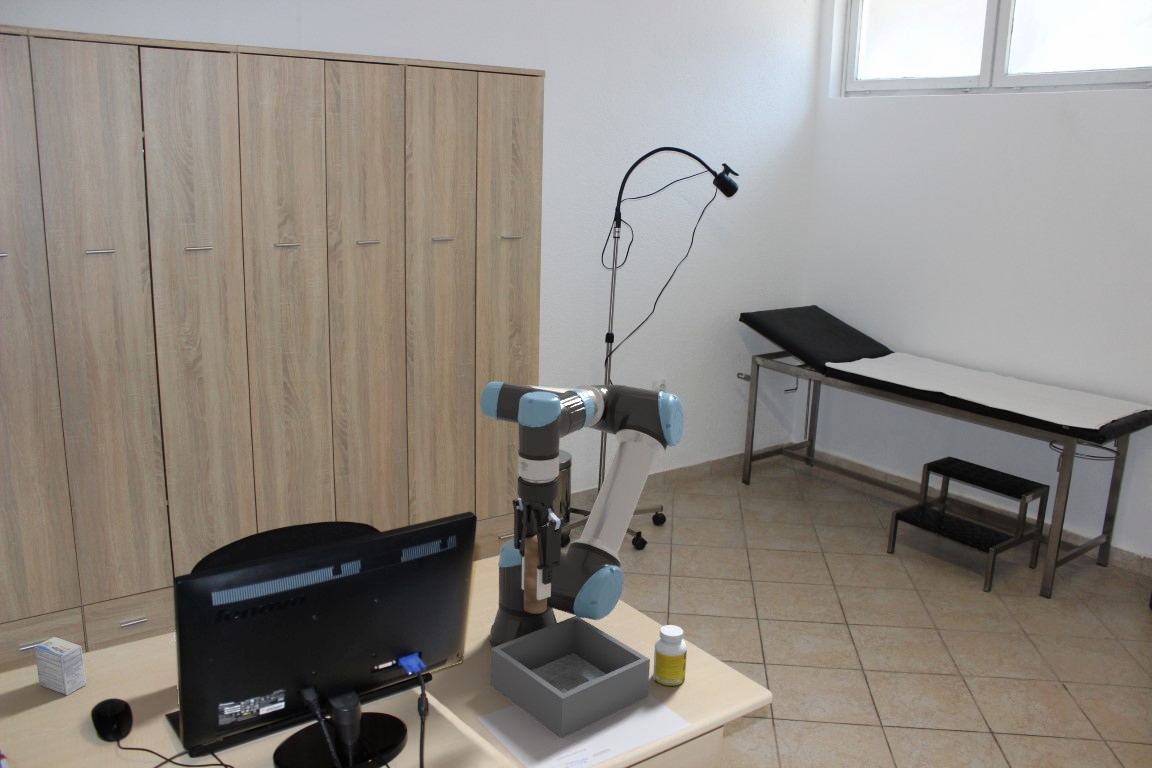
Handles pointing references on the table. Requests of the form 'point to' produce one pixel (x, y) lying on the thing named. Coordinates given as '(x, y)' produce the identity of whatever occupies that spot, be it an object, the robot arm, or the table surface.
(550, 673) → the bore plate
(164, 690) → the table surface
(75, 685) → the medicine box
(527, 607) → the walnut peg
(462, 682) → the table surface
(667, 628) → the pill bottle
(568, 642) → the open box
